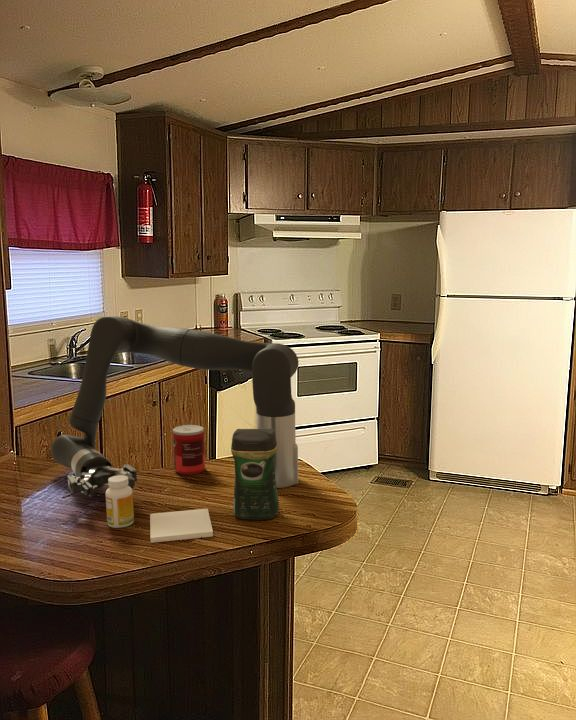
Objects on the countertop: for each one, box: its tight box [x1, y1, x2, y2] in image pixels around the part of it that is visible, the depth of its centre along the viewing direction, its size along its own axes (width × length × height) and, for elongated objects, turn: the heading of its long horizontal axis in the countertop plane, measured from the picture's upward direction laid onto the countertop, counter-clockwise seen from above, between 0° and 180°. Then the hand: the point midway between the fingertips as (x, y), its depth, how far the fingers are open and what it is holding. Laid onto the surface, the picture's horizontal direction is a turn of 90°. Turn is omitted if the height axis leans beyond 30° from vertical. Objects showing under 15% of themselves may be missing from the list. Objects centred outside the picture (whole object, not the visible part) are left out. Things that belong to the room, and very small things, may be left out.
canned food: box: [172, 424, 206, 475], centre depth 168 cm, size 8×8×11 cm
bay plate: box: [149, 508, 214, 543], centre depth 134 cm, size 12×12×1 cm
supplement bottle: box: [105, 475, 135, 529], centre depth 136 cm, size 5×5×10 cm
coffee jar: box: [230, 428, 280, 520], centre depth 138 cm, size 10×8×19 cm
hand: (112, 488), depth 140 cm, fingers open, 8 cm apart
